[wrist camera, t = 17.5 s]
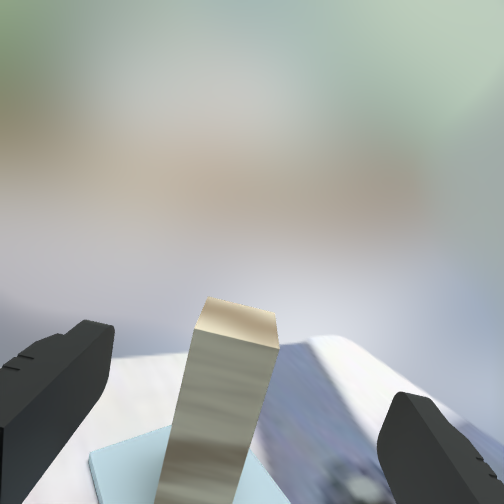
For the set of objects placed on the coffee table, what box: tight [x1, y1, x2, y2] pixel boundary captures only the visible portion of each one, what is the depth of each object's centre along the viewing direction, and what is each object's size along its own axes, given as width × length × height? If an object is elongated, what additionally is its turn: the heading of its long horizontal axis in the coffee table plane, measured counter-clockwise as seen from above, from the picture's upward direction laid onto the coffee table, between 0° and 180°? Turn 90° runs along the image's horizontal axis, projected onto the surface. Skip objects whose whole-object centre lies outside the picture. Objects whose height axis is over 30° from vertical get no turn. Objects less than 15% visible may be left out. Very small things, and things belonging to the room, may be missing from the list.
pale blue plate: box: [88, 425, 291, 504], centre depth 23 cm, size 12×12×1 cm
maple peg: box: [154, 297, 279, 504], centre depth 21 cm, size 5×5×14 cm
